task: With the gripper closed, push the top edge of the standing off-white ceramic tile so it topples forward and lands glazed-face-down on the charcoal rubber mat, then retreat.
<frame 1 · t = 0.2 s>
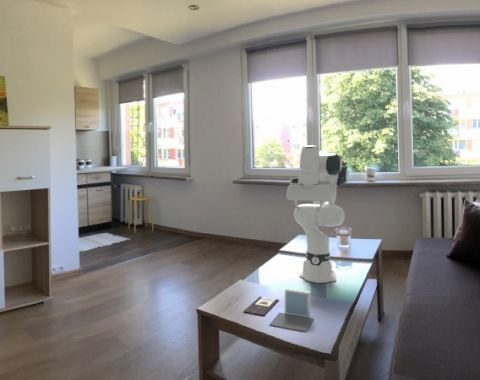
hand: (308, 210, 173), 39 cm above the table, tool pointing down, fingers open, 8 cm apart
mat: (291, 322, 146), on the table
tile: (297, 314, 154), on the table
chocolate bar: (261, 307, 162), on the table
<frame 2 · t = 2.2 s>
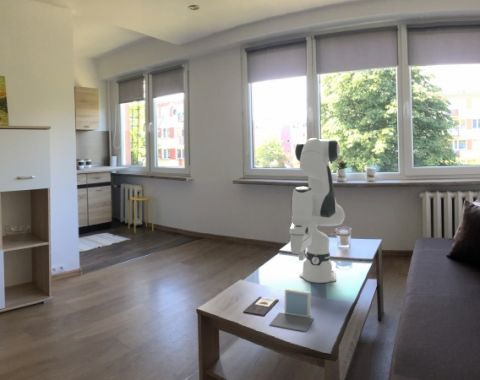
hand: (301, 259, 157), 21 cm above the table, tool pointing down, fingers closed
nothing on the table moved.
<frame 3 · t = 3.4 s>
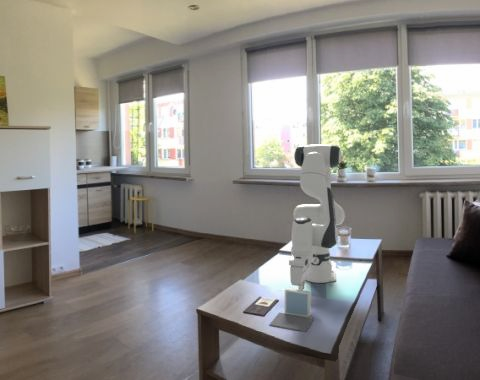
hand: (301, 289, 158), 8 cm above the table, tool pointing down, fingers closed
nothing on the table moved.
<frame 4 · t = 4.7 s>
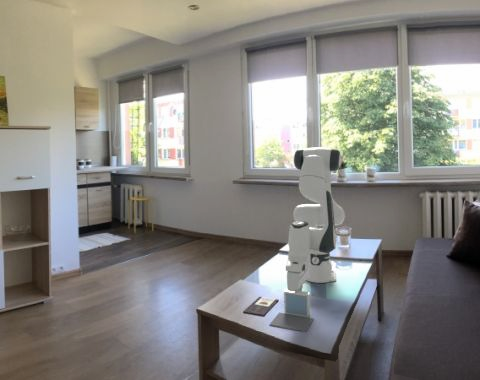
hand: (298, 295, 154), 7 cm above the table, tool pointing down, fingers closed
tile: (297, 314, 154), on the table, tilted 10°
everything else where it was.
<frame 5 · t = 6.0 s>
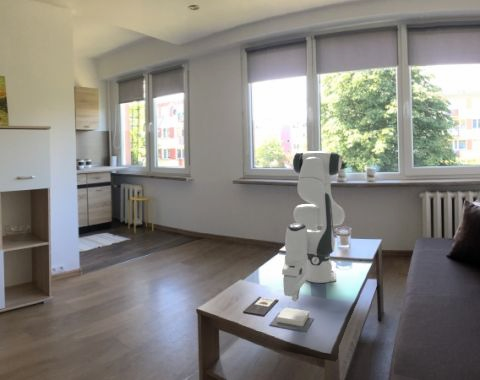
hand: (295, 299, 150), 7 cm above the table, tool pointing down, fingers closed
tile: (296, 311, 153), point 1 cm above the table, tilted 90°, touching mat
everything else where it was.
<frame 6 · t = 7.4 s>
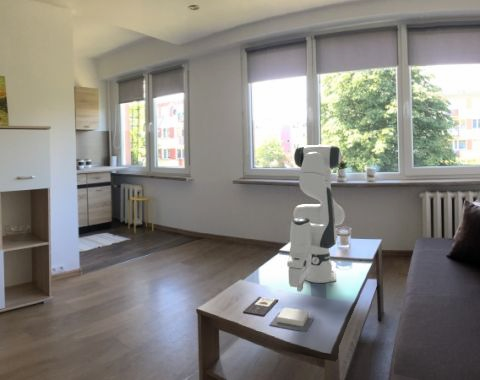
hand: (300, 290, 157), 8 cm above the table, tool pointing down, fingers closed
nothing on the table moved.
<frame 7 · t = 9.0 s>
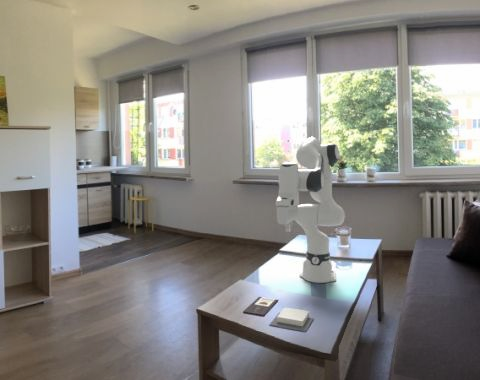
hand: (288, 231, 166), 31 cm above the table, tool pointing down, fingers closed
nothing on the table moved.
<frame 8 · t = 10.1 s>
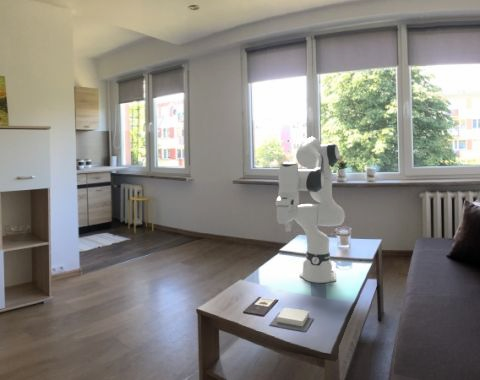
hand: (288, 231, 166), 31 cm above the table, tool pointing down, fingers closed
nothing on the table moved.
at the end: tile tilted 90°; tile inside the target area (4.6 cm from its centre), point 1.5 cm above the table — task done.
